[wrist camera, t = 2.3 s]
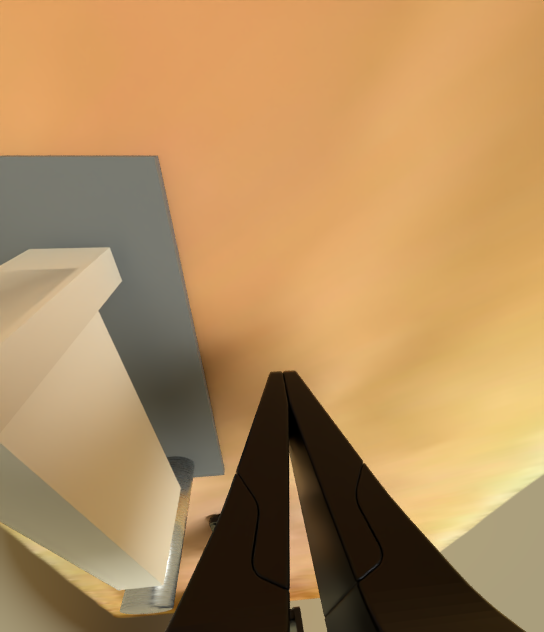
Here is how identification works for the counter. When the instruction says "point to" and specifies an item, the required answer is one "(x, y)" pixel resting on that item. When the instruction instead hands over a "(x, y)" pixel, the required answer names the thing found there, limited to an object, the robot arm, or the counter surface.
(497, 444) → the counter surface
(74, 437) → the cream long block
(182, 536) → the gate post
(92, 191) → the mat
